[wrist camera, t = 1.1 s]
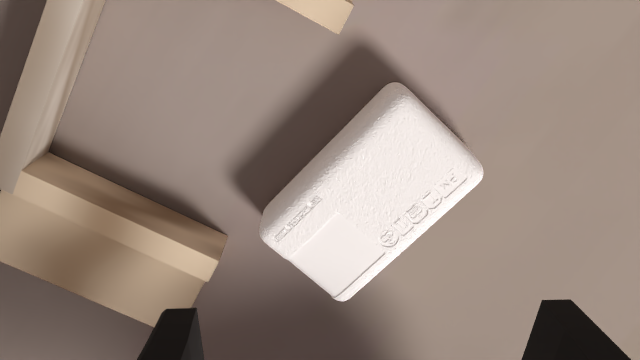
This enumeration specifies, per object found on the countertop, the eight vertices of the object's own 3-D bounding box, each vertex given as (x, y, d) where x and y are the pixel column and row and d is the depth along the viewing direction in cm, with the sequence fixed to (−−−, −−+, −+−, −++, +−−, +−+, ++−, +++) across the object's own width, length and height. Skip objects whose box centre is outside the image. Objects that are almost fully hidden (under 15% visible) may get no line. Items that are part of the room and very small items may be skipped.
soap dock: (413, -119, 22) (424, -128, 20) (177, 331, 30) (164, 363, 27) (169, -268, 21) (149, -297, 18) (-17, 248, 28) (-48, 274, 26)
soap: (393, 72, 25) (401, 86, 22) (476, 154, 26) (494, 177, 24) (258, 209, 27) (250, 238, 25) (340, 278, 29) (342, 313, 26)
